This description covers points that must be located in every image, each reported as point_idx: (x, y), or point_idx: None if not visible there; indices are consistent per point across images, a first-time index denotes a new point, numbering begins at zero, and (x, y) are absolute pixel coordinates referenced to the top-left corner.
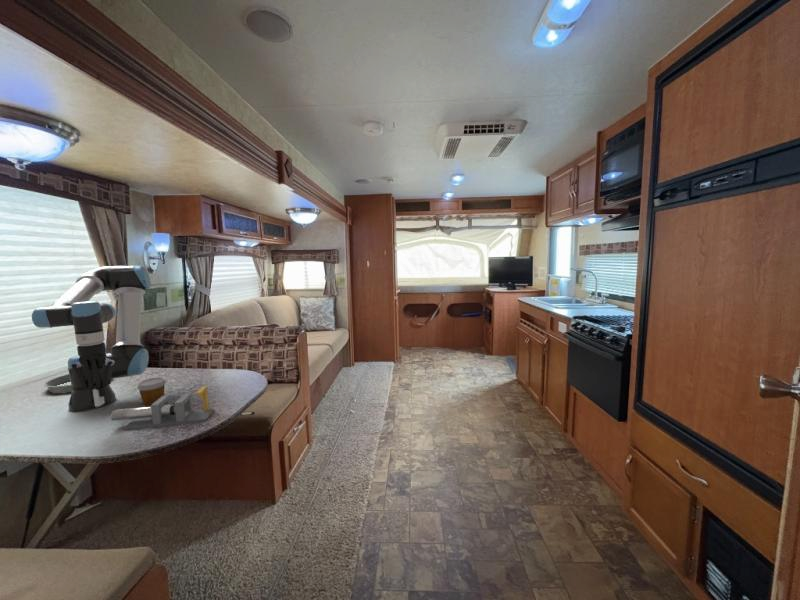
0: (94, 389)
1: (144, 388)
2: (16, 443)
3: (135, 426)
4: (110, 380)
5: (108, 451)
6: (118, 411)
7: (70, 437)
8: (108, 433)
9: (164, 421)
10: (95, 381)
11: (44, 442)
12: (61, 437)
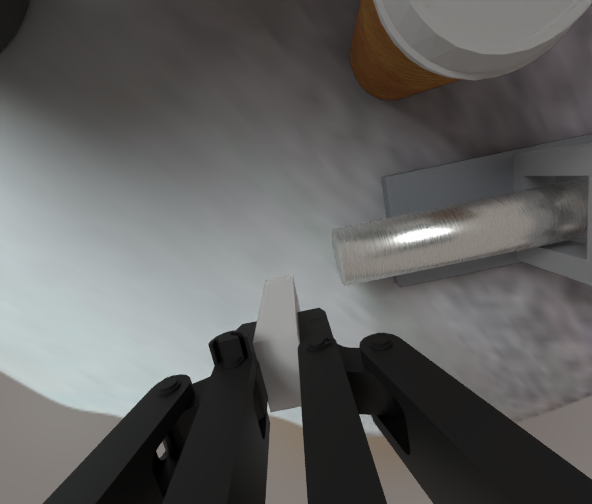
0: (280, 402)
1: (486, 72)
2: (37, 367)
3: (447, 276)
4: (428, 370)
5: None
6: (377, 272)
7: (215, 330)
8: (349, 304)
9: None
10: (250, 420)
11: (147, 362)
12: (176, 329)
